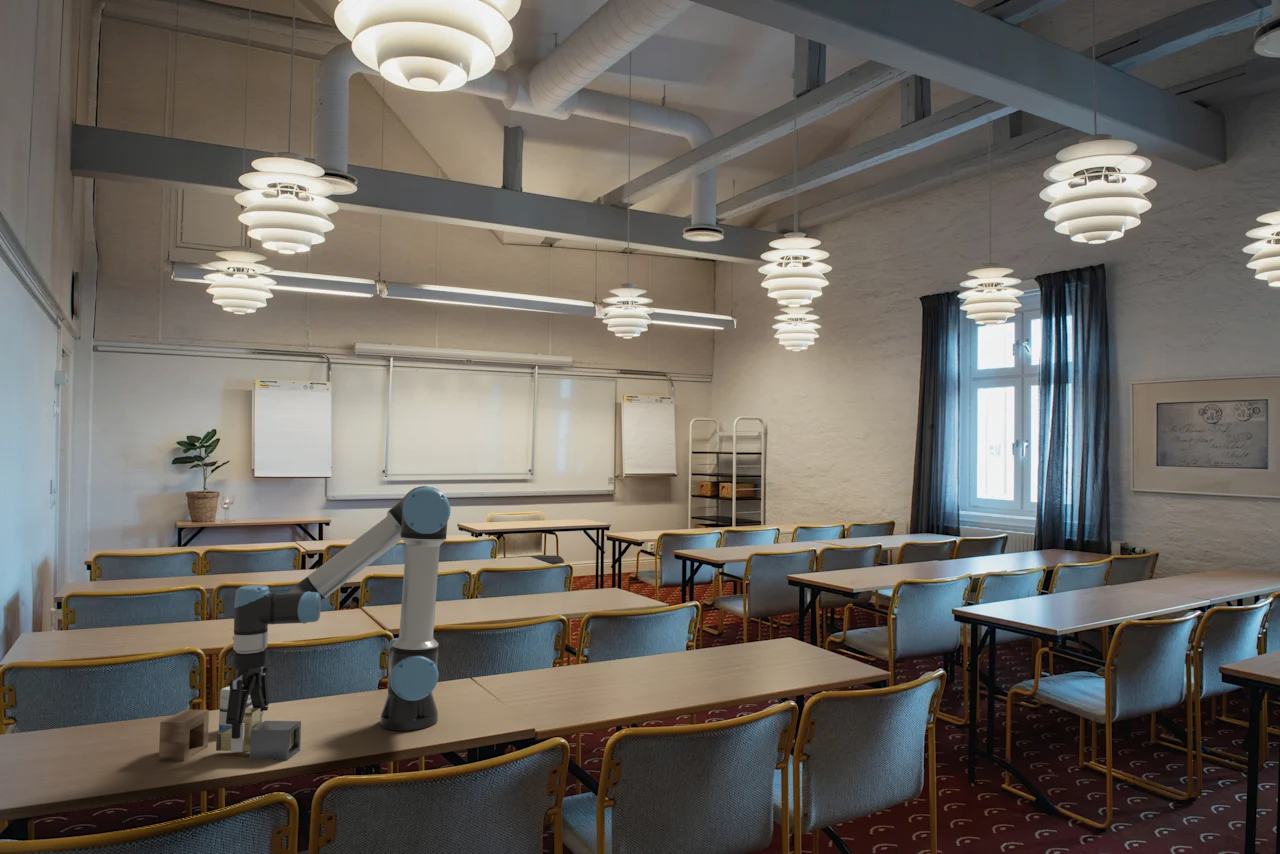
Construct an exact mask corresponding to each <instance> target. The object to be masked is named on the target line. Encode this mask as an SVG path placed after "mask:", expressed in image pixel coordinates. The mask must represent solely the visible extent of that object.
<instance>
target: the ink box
mask: <svg viewBox="0 0 1280 854" xmlns="http://www.w3.org/2000/svg"><path fill="white" fill-rule="evenodd" d="M244 691H246V690H244ZM229 694H230V685H229V686H225V687H223V688H221V690H220V692H219V716H218V733H219V732H220V731H222V730H224V729H225V728H232V725H231V724H226V717H227V709H228V702H229ZM246 708H253V706H252V701H251V697H250V695H249V696H248V701H247V705H246Z"/></svg>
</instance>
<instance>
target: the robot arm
mask: <svg viewBox="0 0 1280 854" xmlns="http://www.w3.org/2000/svg"><path fill="white" fill-rule="evenodd" d="M447 497H448V496H446V495H445V493H443V491H441V490H440V489H438V488H435V487H433V486H426V485H423V486H418V487H414V488H412V489H410V491H408V492H407V493H406V494H405V495H404V496H403V497H402V499H400V501H398V502H397V503H396V504H395V505H394V506H393V507H391V508H390V509H388V510H387V513H386V517H384V518H383V519H382V520H380V521H379V522H378V523H376V524H375V525H374V526H372V527H371V528H369V529H368V530H367V531H366V532H364V533H363V534H362V535H360V536H359V537H357V539H355V540H353V542H351V543H350V544H348V545H347V546H346V547H345V548H343V549H342V550H340V551H339V552H338V553H336V554H334V556H332V557H331V558H330V559H328V560H327V561H326V562H324V563H322V565H320V566H319V567H318V568H317V569H315V570H314V571H312V572H311V573H310V574H308V575H307V576H306V577H304V578H303V579H301V581H299V582H298V583H296V584H294V585H292V586H291V587H290V588H288V589H287V591H286V592H282V593H281V592H279V593H275V592H274V593H273V592H270V587H269V586H268V585H265V584H251V585H243V586H240V587H238V588H237V589H236V590H235V598H234V606H233V609H234V611H233V636H232V640H233V648H232V649H233V650H234V652H233V653H232V668H234V669H236V670H237V676H236V679H231V680H230V681H229V686H230V694H229V702H228V709H227V717H226V724H231V725H232V731H231V751H230V752H231V753H232V752H233V753H243V752H245V751H244V727H245V723H242V722H243V718H244V713H245V709H246V705H247V701H248V696H249V695H250V697H251V701H252V706H253V708H260V724H261V723H262V722H264V712H266V711H268V710H269V704H270V701H269V698H270V697H269V686H268V685H269V684H268V672H269V671H268V670H269V668H268V666H267V667H266V665H267V662H268V661H267V659H268V651H267V649H266V648H267V647H268V640H269V639H268V637H269V636H268V631H269V630H268V626H269V625H283V624H285V625H286V624H289V625H290V624H304V625H305V624H307V623H316V622H318V621H319V620H320V618H321V602H322V601H324V600H325V599H326V598H327V597H328V596H330V595H332V594H333V592H335V591H337V590H338V589H340V588H341V587H343V585H344V584H346V583H347V582H348V581H350V580H351V579H352V578H354V577H355V576H356V575H358V574H359V573H360V572H361V571H362V570H364V569H365V568H366V567H368V566H369V565H371V564H372V563H373V562H375V561H376V560H378V558H380V557H381V556H383V555H384V554H385V553H387V551H389V550H390V549H392V548H393V547H394V546H395V545H397V544H399V542H401V541H403V543H404V544H405V552H404V566H403V579H402V580H403V582H402V593H401V604H400V605H401V608H400V620H399V622H400V623H399V634H398V637H396V638H392V639H390V641H389V642H388V643H389V644H388V648H387V651H388V671H387V676H388V677H387V696H386V699H385V702H384V705H383V708H382V712H381V714H380V722H379V723H380V727H382V728H383V729H385V730H389V731H390V730H391V731H401V732H402V731H414V730H422V729H425V728H428V727H431V726H433V725H435V724H437V722H438V719H439V717H438V716H439V713H438V712H439V711H438V708H437V706H436V702H435V698H434V695H433V691H434V689H435V688H436V686H437V683H438V681H439V677H440V675H439V669H438V660H439V645H440V644H439V642H438V641H437V640H436V639H435V638H434V629H435V617H436V616H435V615H436V602H437V591H438V588H437V587H438V573H439V563H440V562H439V561H440V560H439V559H440V547H441V545H442V544H443V543H444V542H445V541H446V540H447V533H448V532H447V531H448V521H449V520H450V516H451V505H450V504H451V503H450V502H449V499H448V498H447ZM244 690H246V691H244Z"/></svg>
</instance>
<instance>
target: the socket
mask: <svg viewBox="0 0 1280 854" xmlns="http://www.w3.org/2000/svg"><path fill="white" fill-rule="evenodd" d="M209 716H210V710H209V709H184V710H181V711H180V712H177V713H176V714H174V715H172V716H169V717H167V718H166V719H164V720H162V721H160V722H159V747H158V762H185V761H187V760H188V759H190V758H191V757H193V756H195V755H196V754H198V753H200V752H202V751H203V750H205V749H206V748H208V743H209V724H210V723H209V720H210V719H209Z"/></svg>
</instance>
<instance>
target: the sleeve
mask: <svg viewBox="0 0 1280 854" xmlns="http://www.w3.org/2000/svg"><path fill="white" fill-rule="evenodd" d="M301 729H302V721H301V720H263V722H262V723H261V724H259V725H257V726H256V727H254V728H253V729H251V730H250V751H249V760H250V761H288V760H290V759H291V758H292V757H293V756H295V755H296V754H297V753H298V752H300V751H301V740H302V737H301V736H302V735H301V732H302V730H301ZM292 731H294V746H293V747H291V748H290V749H289V737H290V733H291V732H292Z"/></svg>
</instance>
